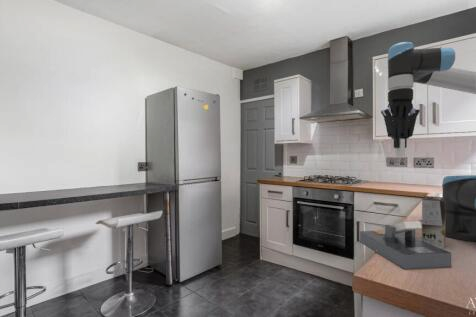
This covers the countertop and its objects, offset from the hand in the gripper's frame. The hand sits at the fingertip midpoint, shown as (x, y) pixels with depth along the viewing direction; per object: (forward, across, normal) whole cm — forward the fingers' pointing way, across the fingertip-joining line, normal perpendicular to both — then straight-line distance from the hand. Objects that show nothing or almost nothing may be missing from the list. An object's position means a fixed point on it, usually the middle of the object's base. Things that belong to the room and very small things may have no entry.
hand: (400, 157), depth 91 cm
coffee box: (+31, -12, +1) cm, 33 cm away
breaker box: (+30, +6, +8) cm, 32 cm away
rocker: (+22, +6, +8) cm, 25 cm away
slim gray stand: (+30, -4, +7) cm, 31 cm away
